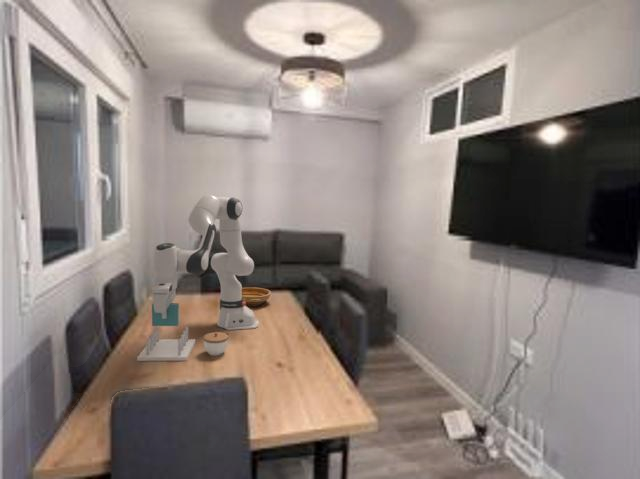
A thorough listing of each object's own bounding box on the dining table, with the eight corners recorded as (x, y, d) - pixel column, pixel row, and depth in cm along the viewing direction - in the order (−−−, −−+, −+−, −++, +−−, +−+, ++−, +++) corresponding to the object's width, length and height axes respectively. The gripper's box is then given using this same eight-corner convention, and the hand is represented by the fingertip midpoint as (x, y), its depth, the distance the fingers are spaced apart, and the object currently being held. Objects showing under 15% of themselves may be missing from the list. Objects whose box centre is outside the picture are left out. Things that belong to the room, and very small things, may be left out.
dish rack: (195, 342, 184) (195, 325, 183) (186, 360, 165) (186, 341, 164) (151, 342, 181) (151, 324, 180) (137, 360, 162) (137, 341, 161)
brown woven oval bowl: (231, 298, 263) (231, 286, 262) (266, 297, 270) (267, 285, 269) (235, 311, 235) (235, 298, 234) (274, 309, 242) (274, 297, 241)
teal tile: (179, 323, 161) (179, 303, 160) (177, 325, 158) (177, 304, 157) (153, 323, 159) (153, 302, 158) (152, 326, 157) (151, 304, 156)
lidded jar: (205, 359, 167) (206, 338, 166) (201, 349, 176) (201, 330, 175) (230, 355, 172) (231, 335, 171) (224, 346, 181) (225, 327, 180)
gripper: (164, 277, 166) (164, 308, 168) (150, 290, 146) (150, 325, 148) (179, 277, 167) (179, 308, 169) (167, 290, 147) (167, 325, 149)
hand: (165, 316), depth 158 cm, fingers closed on teal tile, 2 cm apart
